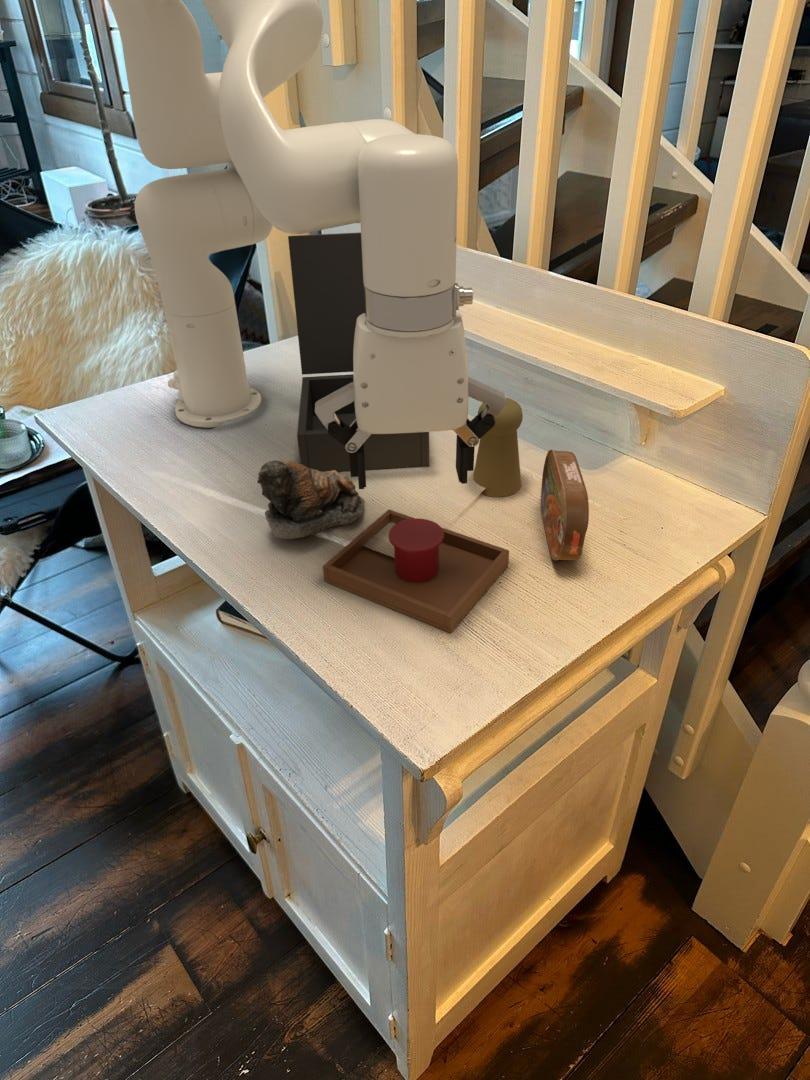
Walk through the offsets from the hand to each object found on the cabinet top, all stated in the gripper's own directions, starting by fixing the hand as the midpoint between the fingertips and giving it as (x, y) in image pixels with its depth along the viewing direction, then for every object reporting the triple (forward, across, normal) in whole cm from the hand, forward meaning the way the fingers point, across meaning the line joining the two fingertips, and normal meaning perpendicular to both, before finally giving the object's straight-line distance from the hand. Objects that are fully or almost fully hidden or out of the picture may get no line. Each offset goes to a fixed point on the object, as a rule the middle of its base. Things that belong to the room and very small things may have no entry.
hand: (411, 478), depth 73 cm
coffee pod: (+11, 0, 0) cm, 11 cm away
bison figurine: (+12, +10, -9) cm, 18 cm away
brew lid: (-4, +4, -38) cm, 38 cm away
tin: (+12, -17, -4) cm, 21 cm away
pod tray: (+11, 0, +1) cm, 11 cm away
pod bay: (+12, +4, -28) cm, 31 cm away
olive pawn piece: (+12, -12, -16) cm, 23 cm away
